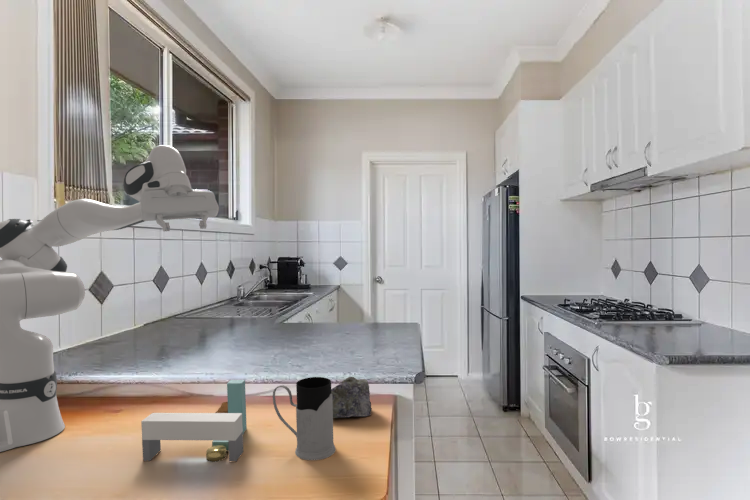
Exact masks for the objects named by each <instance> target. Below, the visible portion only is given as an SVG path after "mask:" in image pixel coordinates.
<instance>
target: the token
mask: <svg viewBox="0 0 750 500" xmlns="http://www.w3.org/2000/svg"><path fill="white" fill-rule="evenodd" d="M205 452H206V453H205V454H206V455H205V456H206V457H205V458H206V461H208V462H212V463H213V462H215V461H216V462H220V461H222V459H223V460H225V459H226V457H227V451H226V447H225V446H222V445H217V446H213V447H212V446H210V447H208V448H207V449H206V451H205ZM219 460H220V461H219Z"/></svg>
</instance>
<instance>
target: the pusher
mask: <svg viewBox="0 0 750 500" xmlns="http://www.w3.org/2000/svg"><path fill="white" fill-rule="evenodd" d="M226 389H227V391H226V392H227V393H226V396H227V402H228V413H242V423H243V435H245V432H246V431H247V429H248V427H247V403H246V402H247V400H246V397H247V396H246V379H230V380H229V381H228V382H227V383H226ZM211 441H212V442H211V447H213V446H217V445H222V446H225V447H226V452H229V445H228V441H221V440H211Z"/></svg>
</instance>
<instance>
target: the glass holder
mask: <svg viewBox="0 0 750 500" xmlns="http://www.w3.org/2000/svg"><path fill="white" fill-rule="evenodd" d="M295 387H296V391H295V392H296V404H295V402H293V394H292V391H291V390H290V388H289V387H288V386H286V385H283V384H282V385H277V386H276V387H275V388H274V389H273V391H272V403H273V407H274V410H275V414H277V417H278V419H279V420H280V422H282V424H283V425H285V426H286V428H288V429H289V430H290V431H291V432H292V433H293V434H294V435H295V437H296V448H295V451H294V453H295V456H296V457H297V458H299V459H301V460H306V461H319V460H324V459H327V458H329V457H331V456H332V455H334V454H335V453H336V446H335V444H334V418H333V403H332V394H331V389H332V380H331V379H329V378H327V377H321V376H312V377H311V376H310V377H305V378H301V379H300V380H298V381H296V383H295ZM280 388H283V389H285V390H286V392H287V393H288V397H289V403H290V405H291V406H293V407H295V412H296V413H295V417H296V430H295V429H294V428H293V427H292V426H291V425H290V424H289V423H288V422H287V421H286V420H285V419H284V418H283V416H282V415H281V413H280V411H279V409H278V406H277V401H276V391H277V389H280Z"/></svg>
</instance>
